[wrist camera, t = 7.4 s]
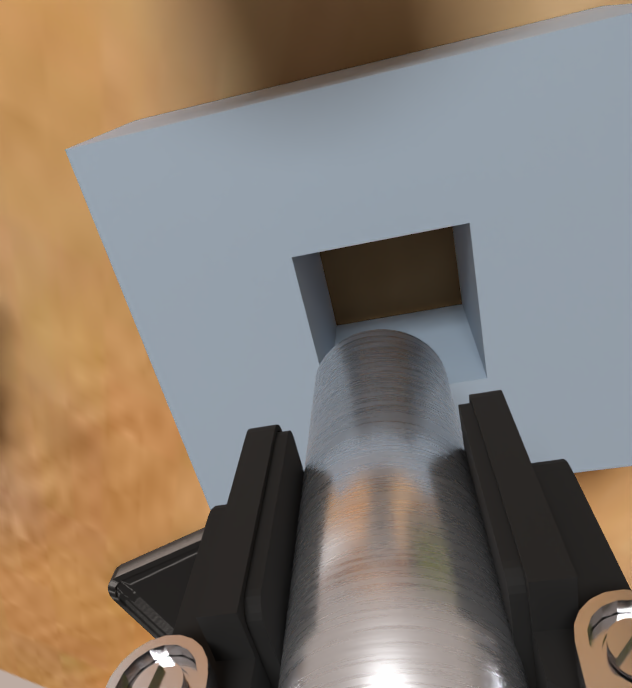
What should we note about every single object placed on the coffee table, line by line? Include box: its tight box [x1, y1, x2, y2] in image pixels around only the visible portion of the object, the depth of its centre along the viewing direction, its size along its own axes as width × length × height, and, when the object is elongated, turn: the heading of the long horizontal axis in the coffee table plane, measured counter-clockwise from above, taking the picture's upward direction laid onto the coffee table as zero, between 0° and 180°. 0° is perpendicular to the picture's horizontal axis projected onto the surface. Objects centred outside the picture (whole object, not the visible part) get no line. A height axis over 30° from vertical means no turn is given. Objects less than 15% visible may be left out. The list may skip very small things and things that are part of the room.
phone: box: [108, 528, 205, 639], centre depth 30 cm, size 8×1×15 cm
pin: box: [278, 329, 529, 688], centre depth 9 cm, size 3×3×10 cm
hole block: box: [65, 4, 632, 510], centre depth 18 cm, size 14×12×5 cm
